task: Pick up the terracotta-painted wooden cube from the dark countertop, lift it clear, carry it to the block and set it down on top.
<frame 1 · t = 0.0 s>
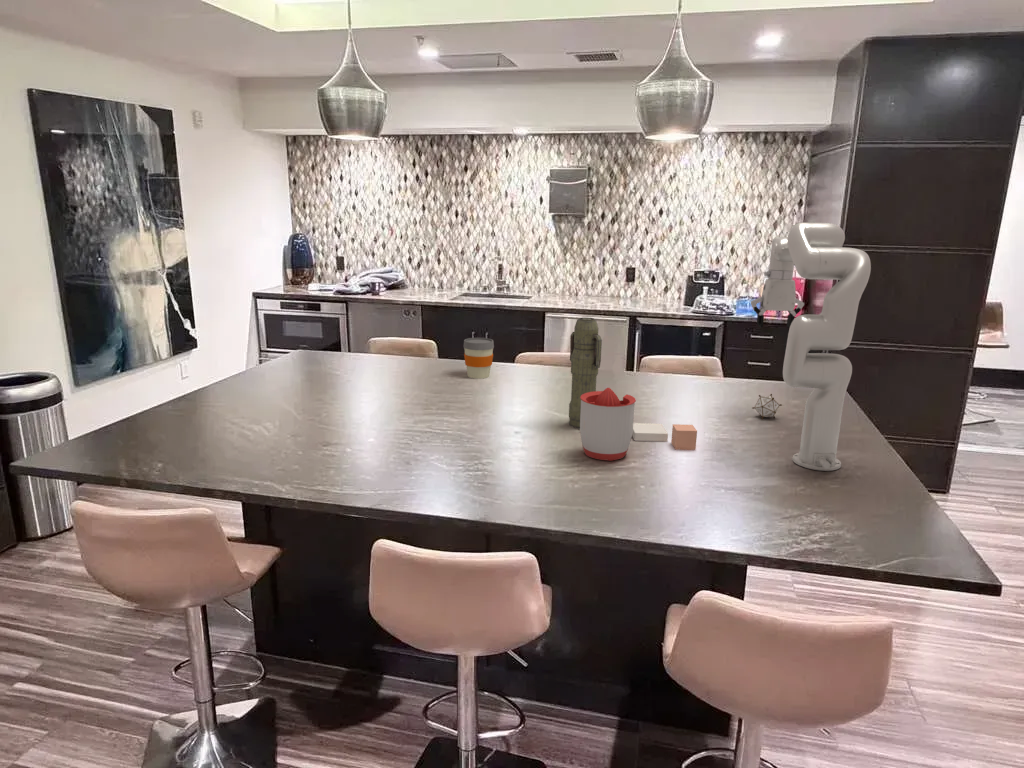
hand: (774, 327, 237), 31 cm above the kitchen island, fingers open, 9 cm apart
reusable coffee cup: (478, 376, 294), on the kitchen island
citrus juicer: (606, 454, 206), on the kitchen island
block: (648, 435, 222), on the kitchen island
game die: (765, 418, 244), on the kitchen island
cube: (683, 446, 213), on the kitchen island
thermos: (581, 425, 232), on the kitchen island
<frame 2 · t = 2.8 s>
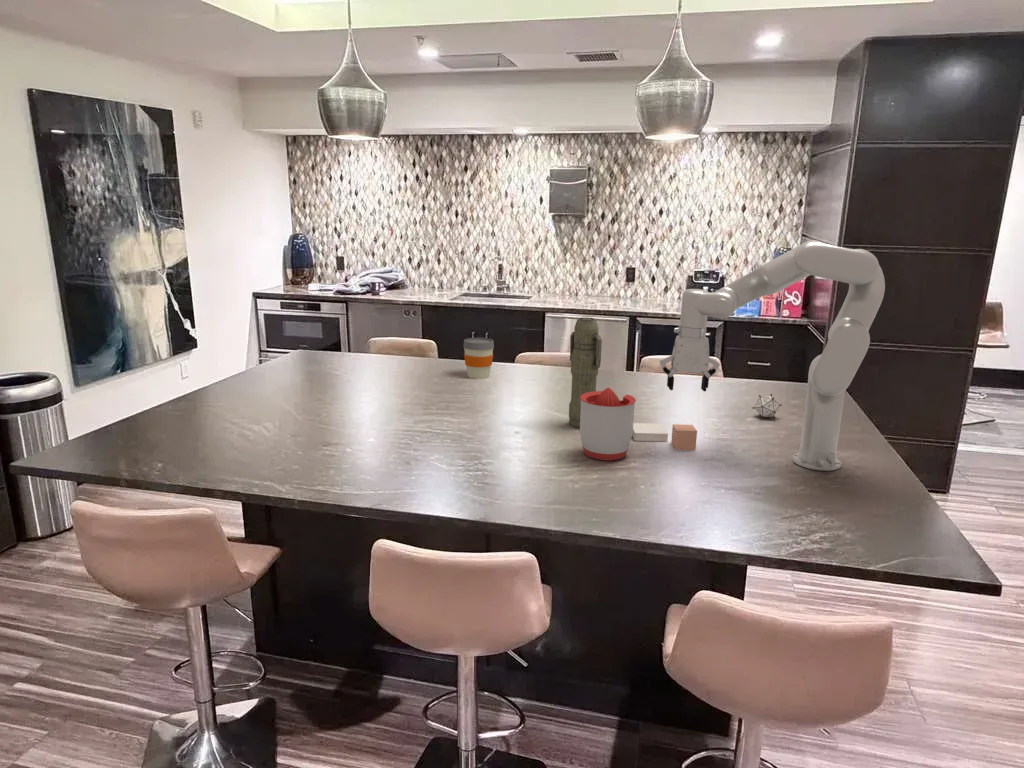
hand: (687, 389, 209), 18 cm above the kitchen island, fingers open, 9 cm apart
nothing on the kitchen island moved.
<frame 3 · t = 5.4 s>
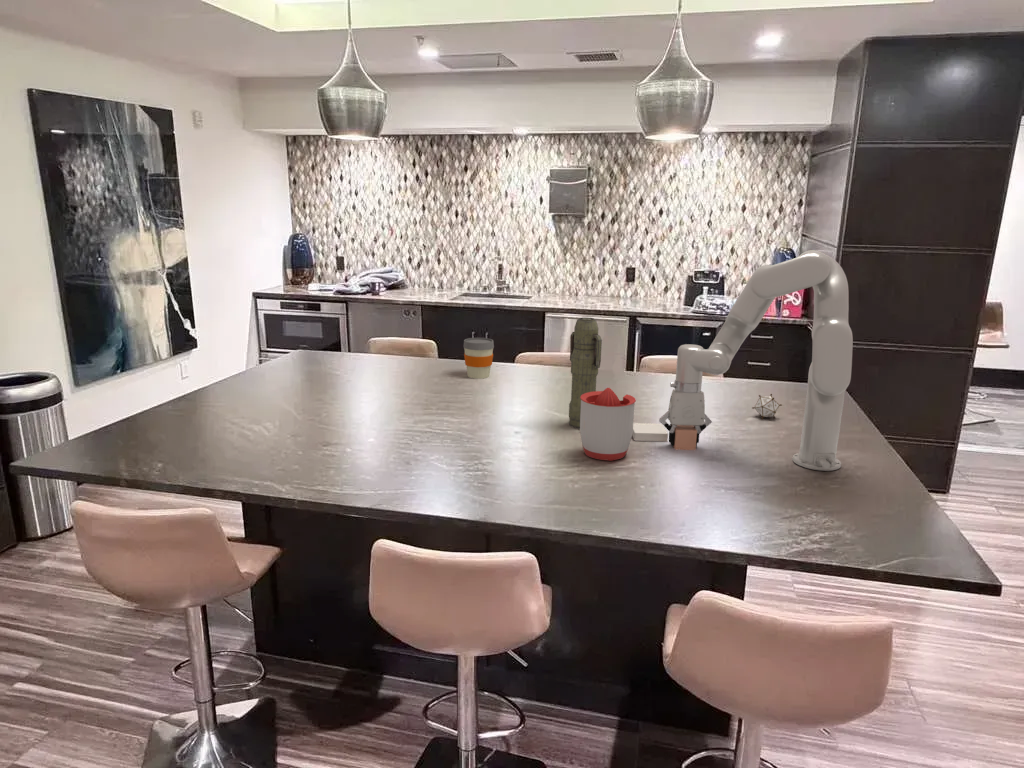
hand: (683, 444, 213), 1 cm above the kitchen island, fingers closed on cube, 6 cm apart
cube: (683, 446, 213), on the kitchen island, touching gripper
everything else where it was.
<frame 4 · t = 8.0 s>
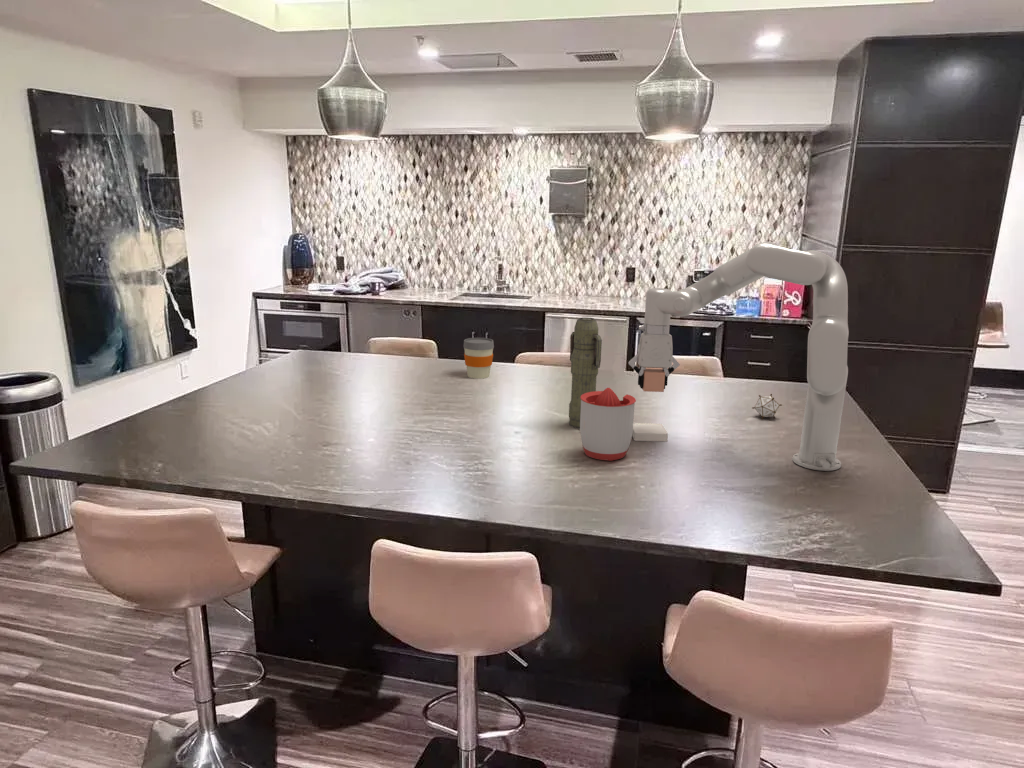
hand: (652, 387, 218), 16 cm above the kitchen island, fingers closed on cube, 6 cm apart
cube: (652, 389, 218), point 15 cm above the kitchen island, touching gripper
everything else where it was.
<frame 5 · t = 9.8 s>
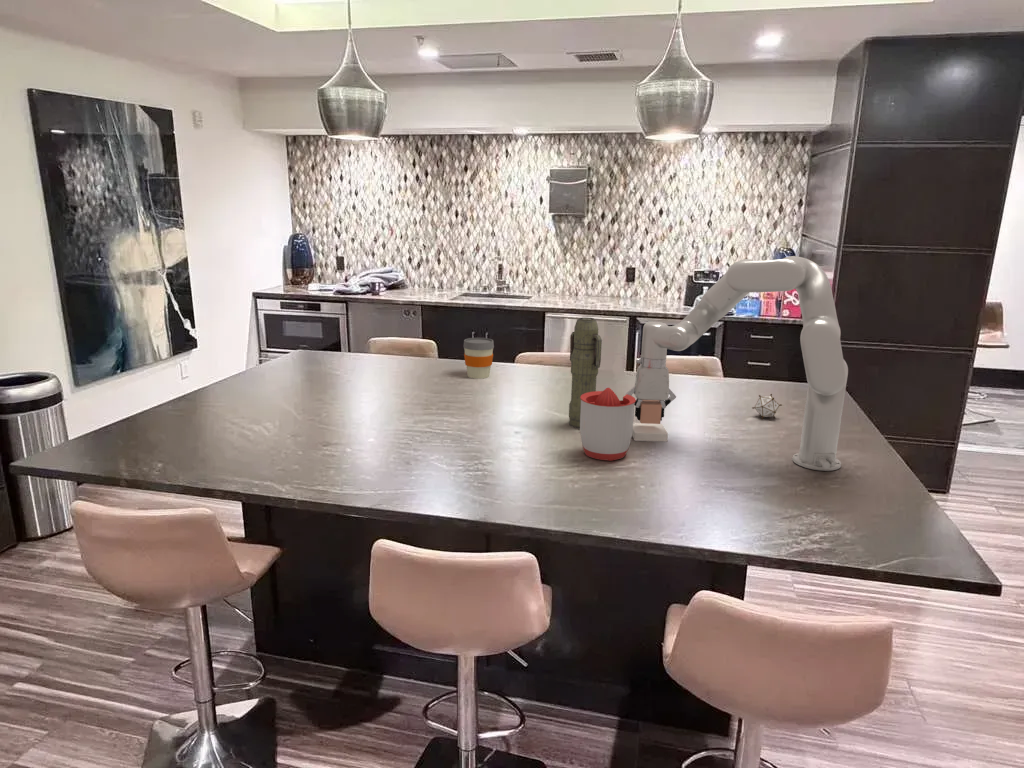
hand: (649, 418, 221), 6 cm above the kitchen island, fingers closed on cube, 6 cm apart
cube: (648, 420, 221), point 5 cm above the kitchen island, touching gripper
everything else where it was.
when the fingers open (4 cm above the kitchen island, at t = 11.1 s): cube stays where it is, resting on block.
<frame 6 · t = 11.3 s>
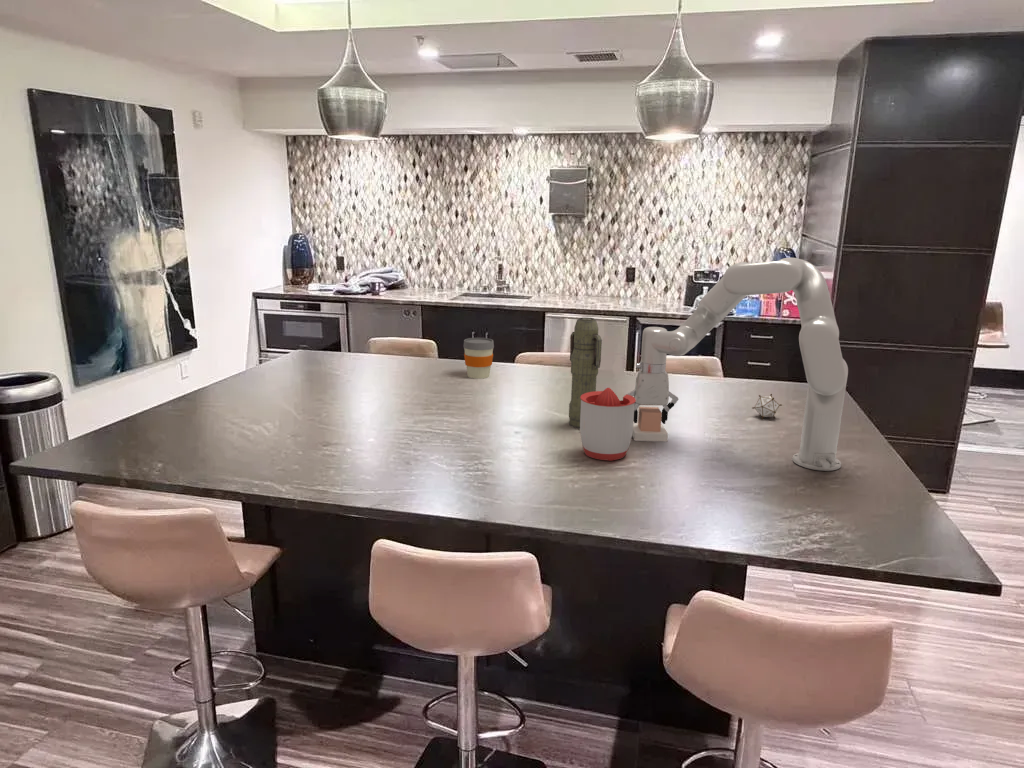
hand: (649, 422, 221), 5 cm above the kitchen island, fingers open, 8 cm apart
cube: (649, 428, 221), point 2 cm above the kitchen island, touching block
everything else where it was.
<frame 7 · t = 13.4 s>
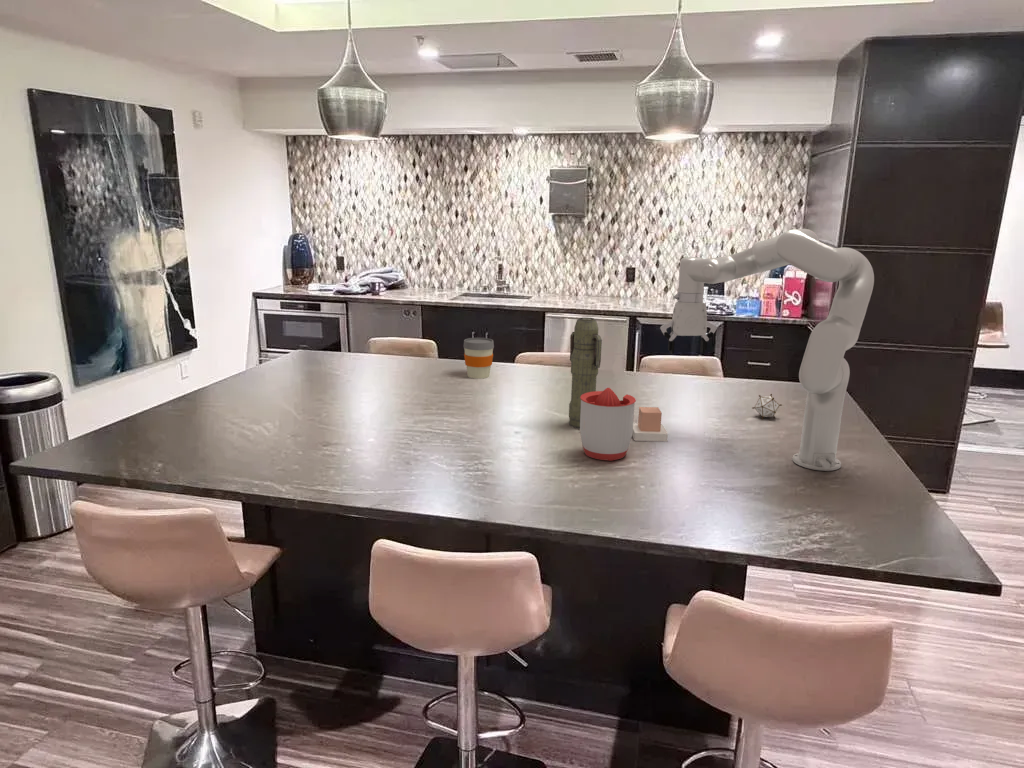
hand: (687, 353, 221), 25 cm above the kitchen island, fingers open, 9 cm apart
nothing on the kitchen island moved.
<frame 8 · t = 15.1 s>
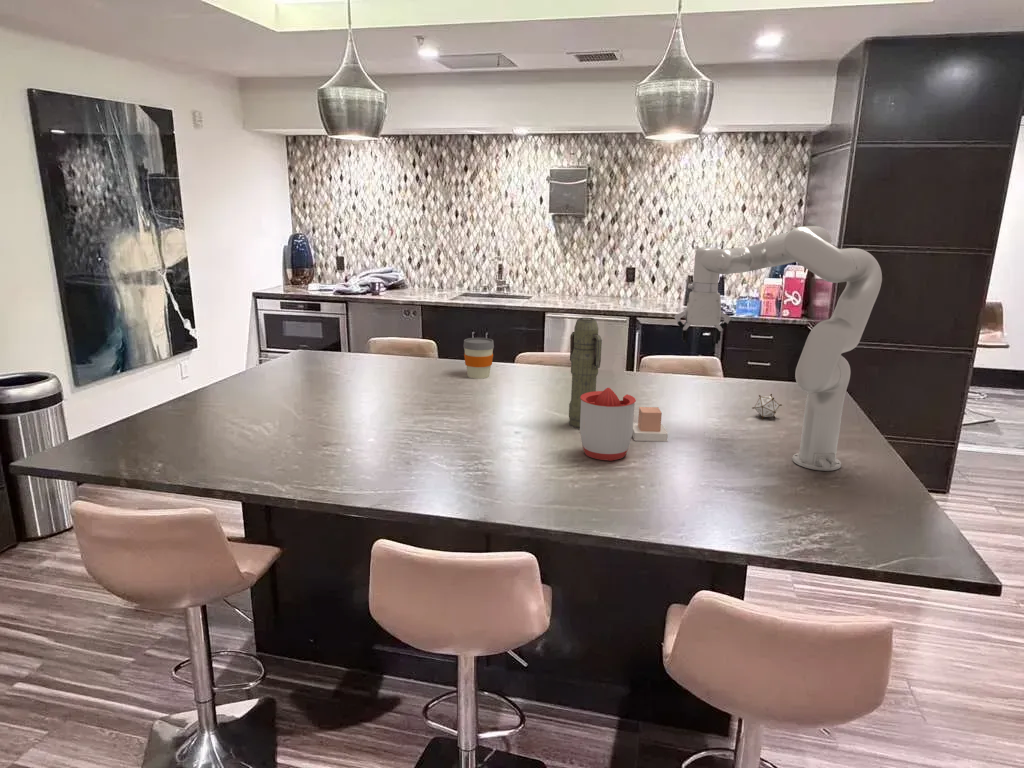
hand: (700, 342, 223), 28 cm above the kitchen island, fingers open, 9 cm apart
nothing on the kitchen island moved.
at the end: cube inside the target area on the block (0.1 cm from its centre), point 2.5 cm above the block's base; cube tilted 0°; the gripper is holding nothing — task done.
